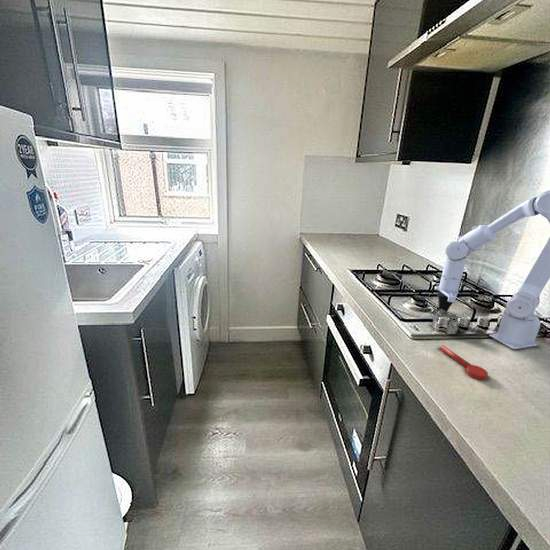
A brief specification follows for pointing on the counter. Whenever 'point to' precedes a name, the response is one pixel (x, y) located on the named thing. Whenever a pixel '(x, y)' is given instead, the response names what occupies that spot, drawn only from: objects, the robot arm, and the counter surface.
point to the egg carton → (449, 329)
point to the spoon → (467, 365)
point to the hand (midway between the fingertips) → (441, 313)
